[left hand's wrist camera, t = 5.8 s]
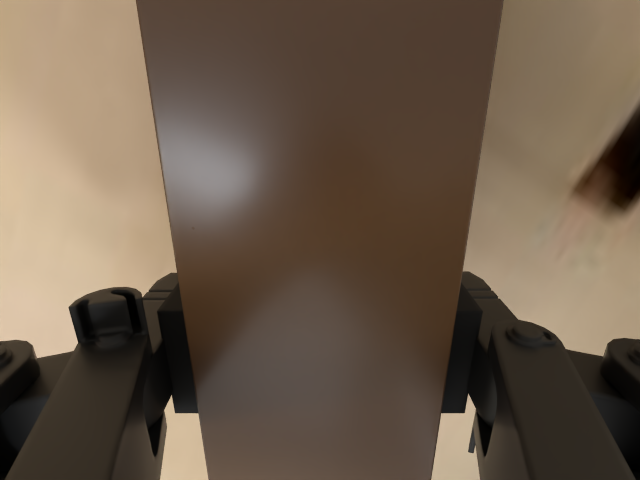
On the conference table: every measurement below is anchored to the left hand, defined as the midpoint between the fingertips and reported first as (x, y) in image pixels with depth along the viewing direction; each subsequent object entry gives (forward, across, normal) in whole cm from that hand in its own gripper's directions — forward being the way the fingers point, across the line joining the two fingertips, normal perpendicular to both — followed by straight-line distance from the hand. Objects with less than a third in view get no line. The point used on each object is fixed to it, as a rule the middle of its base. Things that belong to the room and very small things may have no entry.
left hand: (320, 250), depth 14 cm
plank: (+1, 0, -21) cm, 21 cm away
